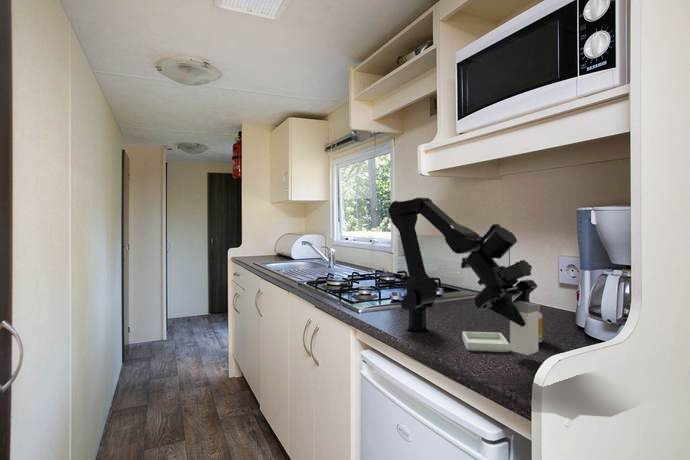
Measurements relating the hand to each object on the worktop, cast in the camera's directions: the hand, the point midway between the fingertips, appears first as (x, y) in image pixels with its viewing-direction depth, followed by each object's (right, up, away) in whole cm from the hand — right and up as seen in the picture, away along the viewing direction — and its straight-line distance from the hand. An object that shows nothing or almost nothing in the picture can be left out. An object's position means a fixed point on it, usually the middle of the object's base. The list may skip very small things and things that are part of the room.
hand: (529, 323), depth 92 cm
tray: (-6, -8, +12) cm, 16 cm away
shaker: (-1, -7, +1) cm, 7 cm away
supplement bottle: (+8, -8, +16) cm, 20 cm away
